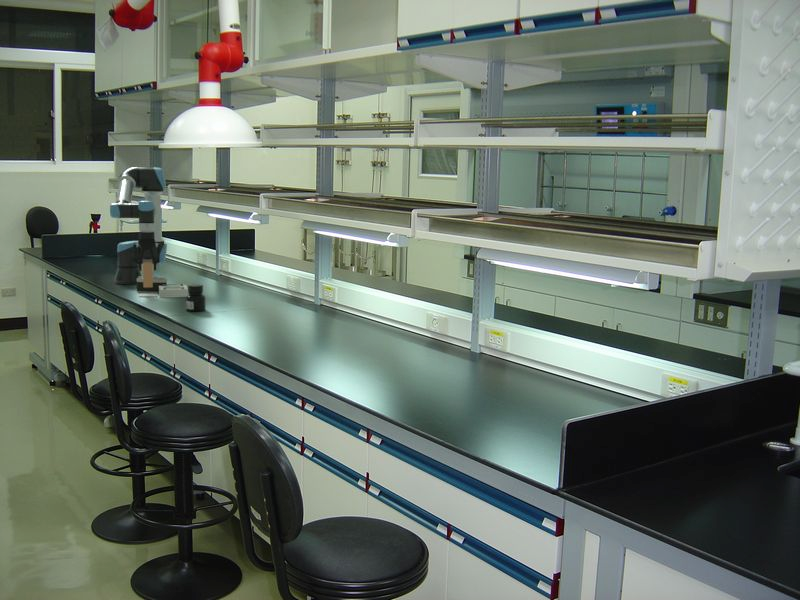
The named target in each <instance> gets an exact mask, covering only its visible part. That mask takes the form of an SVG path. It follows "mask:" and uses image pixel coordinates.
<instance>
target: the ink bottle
mask: <svg viewBox="0 0 800 600" xmlns="http://www.w3.org/2000/svg"><path fill="white" fill-rule="evenodd" d="M187 288H188V295H187V296H186V297H185V310H186V311H187V312H191V313H193V312H195V313H196V312H204V311H206V296H205V295H204V294H203V293H204V285H203V284H201V283H200V284H198V283H196V284H195V283H192V284H188V285H187Z"/></svg>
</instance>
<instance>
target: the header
mask: <svg viewBox="0 0 800 600" xmlns="http://www.w3.org/2000/svg"><path fill="white" fill-rule="evenodd" d="M188 294H189V293H188V285H187V284H183V283H181V284H178V285H177V284H176V285H173V284H172V285H171V284H170V285H165V284H163V286H159V293H158V295H159V298H186V296H187V295H188Z"/></svg>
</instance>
